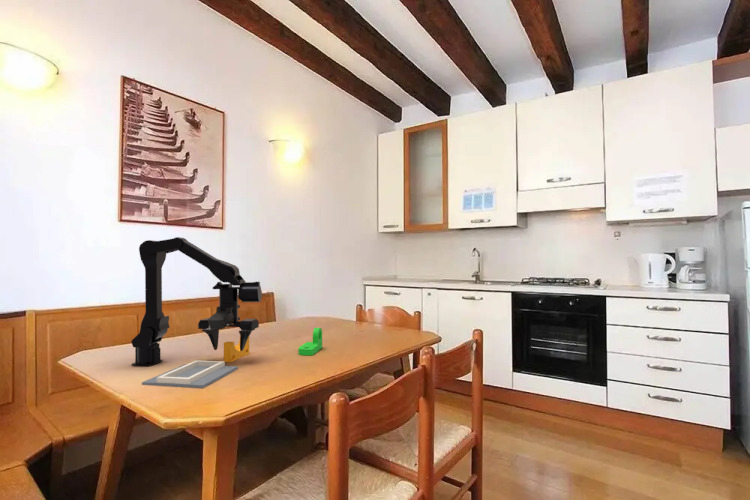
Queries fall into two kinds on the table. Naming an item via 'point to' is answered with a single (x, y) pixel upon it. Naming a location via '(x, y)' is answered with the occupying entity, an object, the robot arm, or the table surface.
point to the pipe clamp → (234, 351)
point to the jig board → (192, 374)
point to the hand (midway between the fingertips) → (228, 350)
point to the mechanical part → (312, 344)
